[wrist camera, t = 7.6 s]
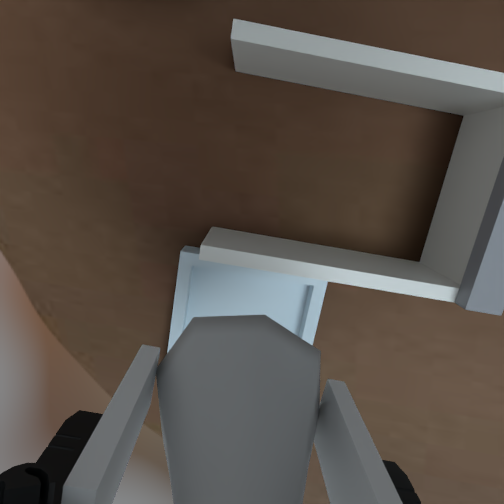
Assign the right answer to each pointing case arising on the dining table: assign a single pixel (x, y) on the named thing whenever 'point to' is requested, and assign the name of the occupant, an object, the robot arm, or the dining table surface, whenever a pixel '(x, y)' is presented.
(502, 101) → the bay
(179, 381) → the flask
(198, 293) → the tray
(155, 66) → the dining table surface
